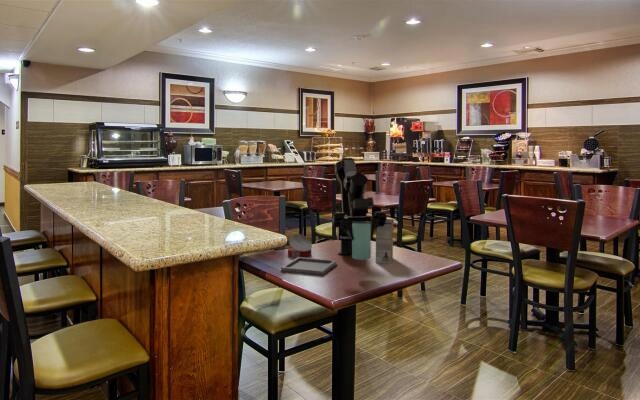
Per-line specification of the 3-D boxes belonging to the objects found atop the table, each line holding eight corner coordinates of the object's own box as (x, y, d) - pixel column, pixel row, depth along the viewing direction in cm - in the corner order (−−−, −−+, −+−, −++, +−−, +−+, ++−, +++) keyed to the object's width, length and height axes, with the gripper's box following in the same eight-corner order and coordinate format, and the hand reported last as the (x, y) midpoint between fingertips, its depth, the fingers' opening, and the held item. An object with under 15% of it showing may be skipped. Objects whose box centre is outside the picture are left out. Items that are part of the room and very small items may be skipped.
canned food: (307, 263, 196) (318, 243, 196) (304, 267, 186) (316, 246, 186) (284, 251, 197) (295, 230, 196) (280, 254, 187) (291, 232, 186)
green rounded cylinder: (355, 254, 164) (355, 221, 163) (372, 255, 162) (372, 222, 161) (349, 258, 158) (350, 224, 157) (368, 260, 156) (368, 225, 155)
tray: (298, 261, 182) (298, 257, 182) (336, 264, 177) (336, 260, 176) (281, 271, 167) (281, 267, 167) (322, 275, 162) (322, 271, 162)
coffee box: (377, 257, 188) (377, 218, 186) (393, 258, 186) (393, 218, 184) (375, 263, 179) (375, 222, 177) (391, 263, 177) (392, 222, 175)
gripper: (333, 189, 160) (337, 226, 151) (386, 189, 162) (393, 225, 152) (330, 208, 169) (334, 245, 160) (380, 208, 171) (387, 243, 161)
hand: (362, 239), depth 158 cm, fingers closed on green rounded cylinder, 6 cm apart
